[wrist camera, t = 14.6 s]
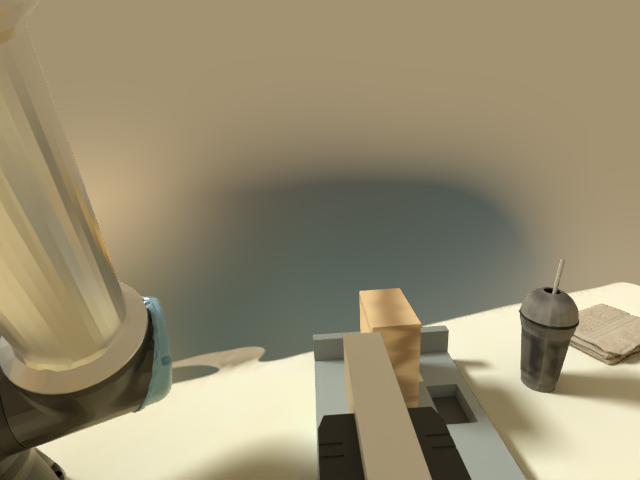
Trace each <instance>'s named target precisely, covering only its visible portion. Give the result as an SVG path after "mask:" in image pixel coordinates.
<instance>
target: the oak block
mask: <svg viewBox="0 0 640 480" xmlns="http://www.w3.org/2000/svg"><path fill="white" fill-rule="evenodd" d="M360 326H361V333H369V332H380V333H381V336H382V339H383V342H384V345H385V348H386V350H387V353H388V356H389V359H390V362H391V365H392V367H393V370H394V373H395V376H396V379H397V382H398V385H399V387H400V390H401V393H402V396H403V399H404V402H405V404H406V407H407V408H417V407H418V398H419V369H420V340H421V323H420V321H419V320H418V318H417V317H416V315H415V313H414V311H413V310H412V308H411V307H410V305H409V303H408V301H407V300H406V298H405V297H404V295H403V293H402V292H401V290H400V288H394V289H382V290H368V291H360Z"/></svg>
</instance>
